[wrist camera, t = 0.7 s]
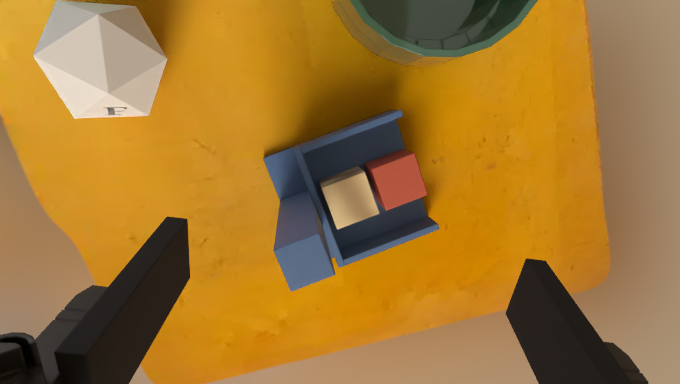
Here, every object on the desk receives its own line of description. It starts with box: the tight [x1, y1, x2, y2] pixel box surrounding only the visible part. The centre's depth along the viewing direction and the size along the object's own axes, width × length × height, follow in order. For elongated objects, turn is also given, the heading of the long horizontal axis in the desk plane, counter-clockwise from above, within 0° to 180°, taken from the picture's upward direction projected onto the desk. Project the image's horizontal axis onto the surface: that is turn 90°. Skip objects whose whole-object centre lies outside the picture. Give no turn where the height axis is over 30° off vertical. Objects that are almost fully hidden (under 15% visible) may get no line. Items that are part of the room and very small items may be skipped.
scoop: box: [263, 110, 439, 291], centre depth 34 cm, size 13×12×15 cm
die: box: [33, 0, 167, 118], centre depth 33 cm, size 8×9×10 cm
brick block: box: [364, 149, 428, 211], centre depth 38 cm, size 4×4×4 cm
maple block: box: [319, 166, 379, 229], centre depth 38 cm, size 4×4×4 cm
